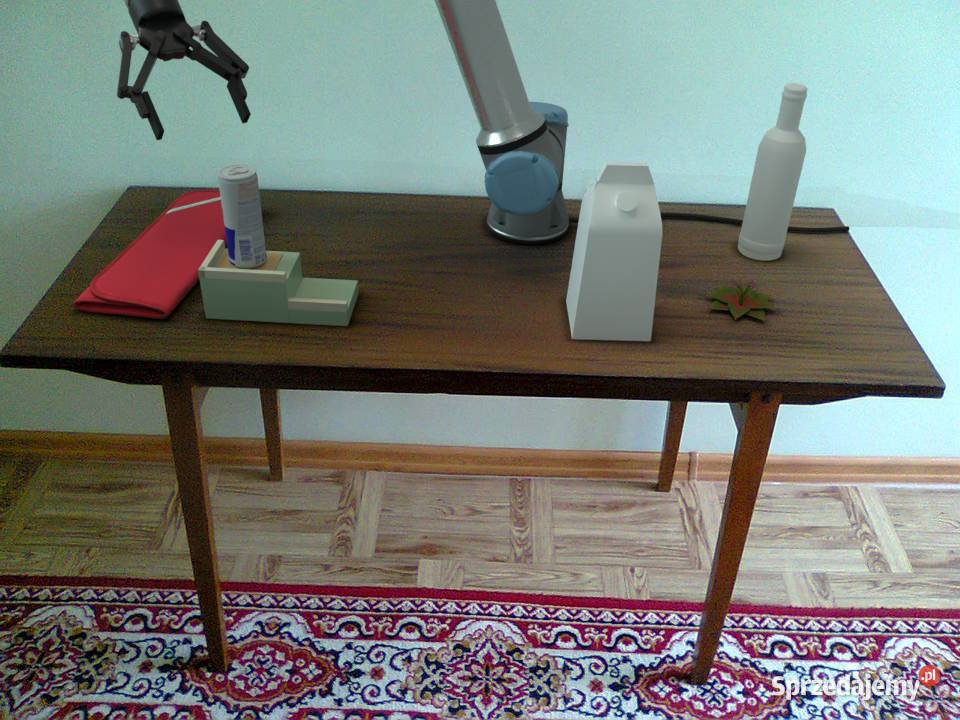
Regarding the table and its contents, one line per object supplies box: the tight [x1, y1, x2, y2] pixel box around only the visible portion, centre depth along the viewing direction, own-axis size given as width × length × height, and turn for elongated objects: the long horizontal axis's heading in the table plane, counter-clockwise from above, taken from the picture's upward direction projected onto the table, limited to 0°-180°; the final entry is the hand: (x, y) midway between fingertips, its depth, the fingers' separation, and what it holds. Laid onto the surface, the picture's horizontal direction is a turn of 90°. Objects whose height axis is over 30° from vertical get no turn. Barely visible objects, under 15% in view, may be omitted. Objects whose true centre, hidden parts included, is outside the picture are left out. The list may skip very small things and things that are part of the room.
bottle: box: [737, 82, 808, 262], centre depth 157 cm, size 8×8×30 cm
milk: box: [565, 160, 663, 342], centre depth 137 cm, size 12×12×26 cm
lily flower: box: [705, 276, 777, 322], centre depth 148 cm, size 12×12×5 cm
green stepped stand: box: [198, 240, 360, 327], centre depth 142 cm, size 22×10×8 cm, turn 87°
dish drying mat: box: [73, 189, 227, 320], centre depth 156 cm, size 16×41×4 cm, turn 171°
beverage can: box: [217, 163, 267, 269], centre depth 137 cm, size 6×6×15 cm
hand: (204, 127), depth 138 cm, fingers open, 13 cm apart
